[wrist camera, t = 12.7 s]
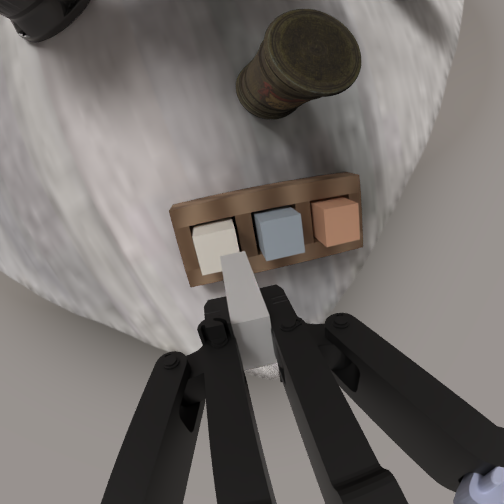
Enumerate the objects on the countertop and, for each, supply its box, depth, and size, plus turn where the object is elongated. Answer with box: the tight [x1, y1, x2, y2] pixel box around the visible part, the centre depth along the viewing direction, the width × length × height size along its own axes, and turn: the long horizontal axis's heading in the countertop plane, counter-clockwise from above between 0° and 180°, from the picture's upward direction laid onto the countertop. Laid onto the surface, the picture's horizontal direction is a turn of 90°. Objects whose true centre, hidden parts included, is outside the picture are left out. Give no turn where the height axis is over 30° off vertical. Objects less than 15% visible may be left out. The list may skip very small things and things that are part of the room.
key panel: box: [169, 172, 363, 287], centre depth 38 cm, size 26×11×4 cm, turn 100°
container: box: [236, 9, 361, 119], centre depth 25 cm, size 9×9×18 cm
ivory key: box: [192, 217, 239, 276], centre depth 35 cm, size 5×5×6 cm
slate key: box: [252, 205, 305, 261], centre depth 36 cm, size 5×5×6 cm
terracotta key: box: [309, 196, 360, 247], centre depth 36 cm, size 5×5×6 cm
